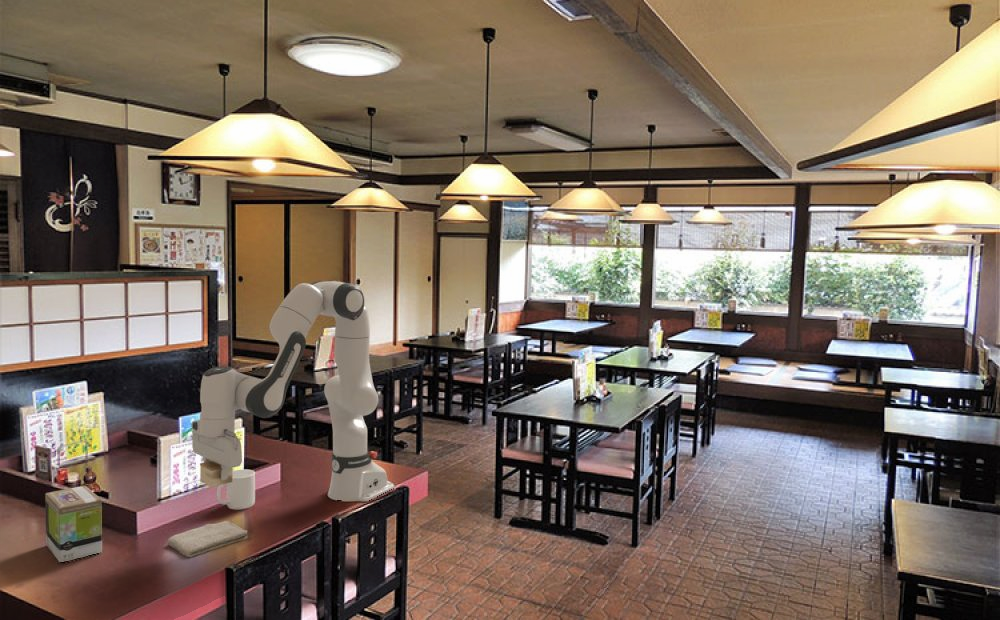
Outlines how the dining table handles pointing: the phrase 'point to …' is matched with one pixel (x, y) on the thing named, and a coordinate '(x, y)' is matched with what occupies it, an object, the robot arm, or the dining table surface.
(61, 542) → the tea box
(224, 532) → the washcloth
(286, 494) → the dining table surface
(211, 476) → the hinoki box
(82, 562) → the dining table surface
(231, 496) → the cup
